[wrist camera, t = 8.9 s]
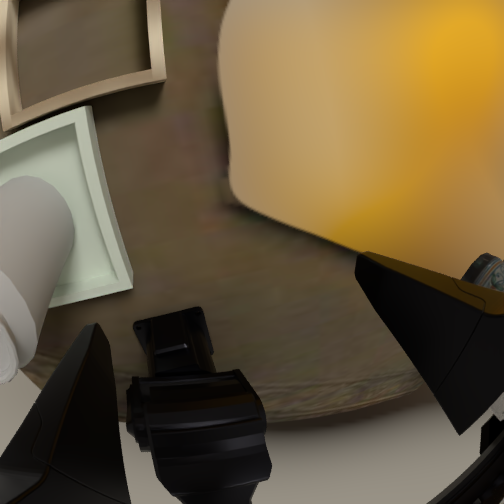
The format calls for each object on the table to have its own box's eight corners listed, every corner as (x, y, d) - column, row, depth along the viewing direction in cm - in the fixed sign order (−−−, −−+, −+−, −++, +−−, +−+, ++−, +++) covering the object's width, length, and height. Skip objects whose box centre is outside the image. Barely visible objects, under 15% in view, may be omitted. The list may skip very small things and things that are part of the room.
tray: (133, 272, 21) (132, 288, 20) (9, 303, 18) (2, 318, 17) (91, 105, 15) (84, 106, 13) (-45, 167, 12) (-59, 175, 10)
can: (15, 276, 17) (-34, 397, 7) (-18, 191, 13) (-114, 282, 3) (90, 254, 19) (62, 392, 9) (60, 157, 15) (-37, 237, 5)
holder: (165, 81, 16) (166, 78, 14) (15, 128, 13) (3, 131, 11) (157, -49, 10) (158, -62, 8) (11, -2, 7) (0, -9, 6)
